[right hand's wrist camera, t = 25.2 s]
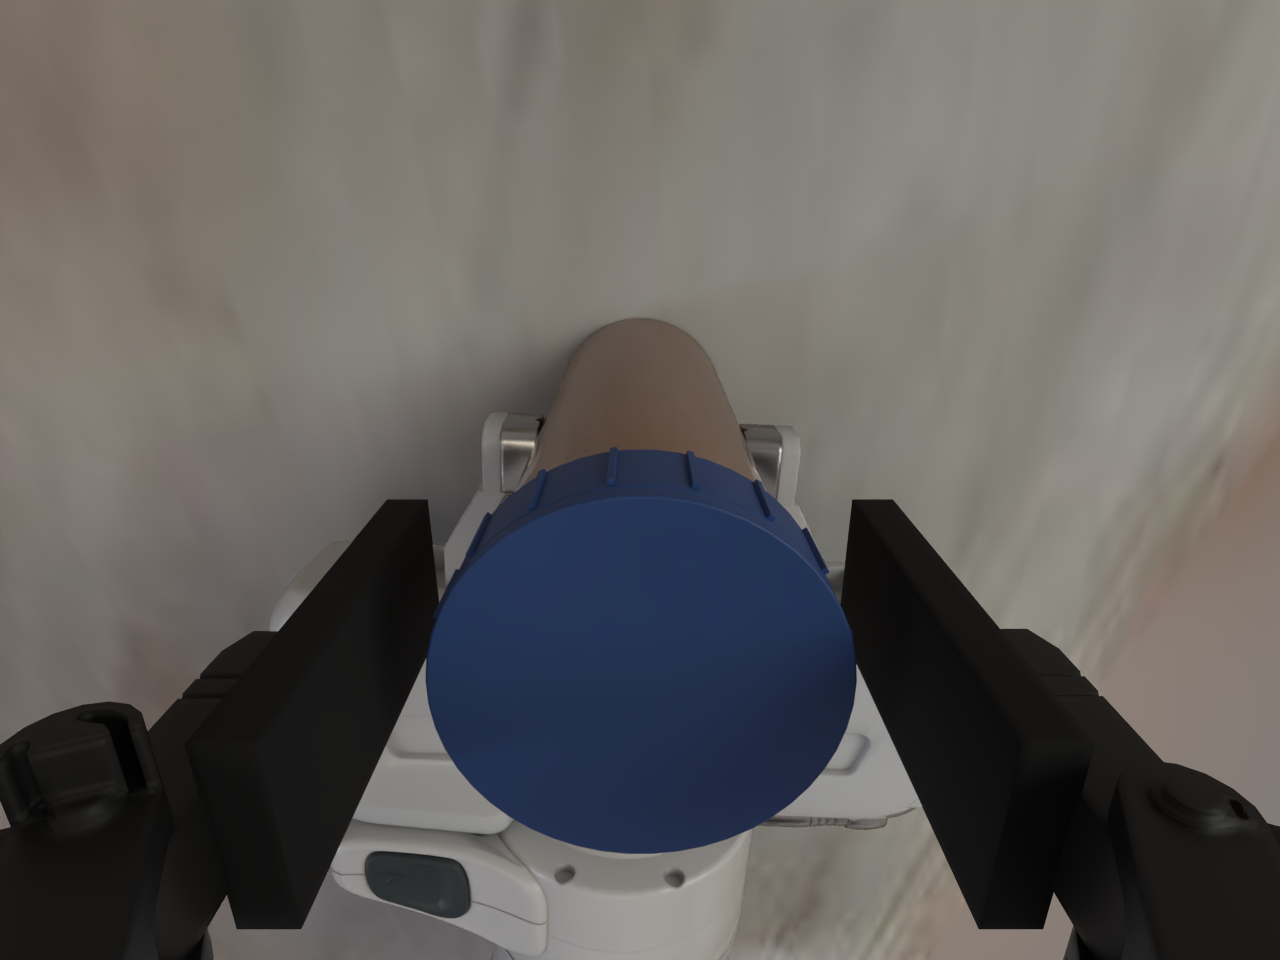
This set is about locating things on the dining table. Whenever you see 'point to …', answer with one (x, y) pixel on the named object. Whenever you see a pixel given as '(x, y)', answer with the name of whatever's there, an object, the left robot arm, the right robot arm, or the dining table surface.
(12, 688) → the dining table surface
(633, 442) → the jar
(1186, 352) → the dining table surface
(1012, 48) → the dining table surface
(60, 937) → the right robot arm
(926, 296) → the dining table surface
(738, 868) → the left robot arm
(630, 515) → the lid
